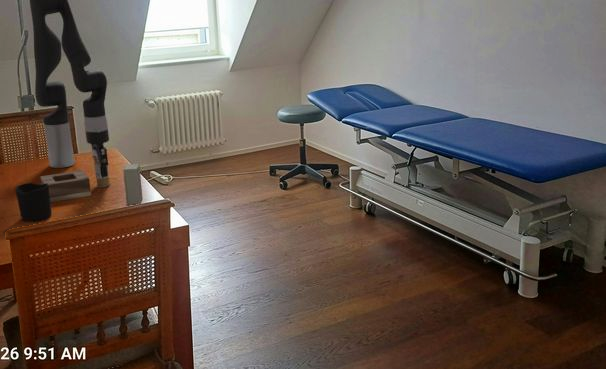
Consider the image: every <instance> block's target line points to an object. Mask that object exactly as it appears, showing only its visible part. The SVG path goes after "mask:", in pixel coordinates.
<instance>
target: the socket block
mask: <svg viewBox="0 0 606 369" xmlns="http://www.w3.org/2000/svg"><path fill="white" fill-rule="evenodd" d="M39 178H40V185H42V184H45V183H48V185H49V194H50V203H54V202H55V203H56V202H60V201H66V200H72V199H79V198H85V197H90V196H91V197H92V191H91V184H90V178H89V176H87V174H86V173H85V172H84V170H77V171H76V170H75V171H69V172H62V173H56V174H48V175H42V176H39Z"/></svg>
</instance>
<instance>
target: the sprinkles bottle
mask: <svg viewBox="0 0 606 369" xmlns="http://www.w3.org/2000/svg"><path fill="white" fill-rule="evenodd" d="M92 152H93V154H92V158H93V157H94V158H93V161H94V172H95V178H96V187H98V188H107V187H109V186H110V185H111V183H110V176H109V168H108V166H109V165H107V172H108V176H107V177H102V176H101V172H100V166H99V162H98V161H97V159H96V155H95V153H94V150H93V151H92V150H91V153H92ZM103 162H105V161H104V160H103V161H102V163H103Z"/></svg>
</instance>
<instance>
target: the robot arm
mask: <svg viewBox="0 0 606 369" xmlns="http://www.w3.org/2000/svg"><path fill="white" fill-rule="evenodd" d="M29 6H30V7H29V8H30V11H31V12H30V13H31V20H32V29H33V30H32V31H33V55H34V66H35V82H34V84H35V85H34V86H35V87H34V88H35V89H34V90H35V91H34V93H35V94H34V95H35V100H36V103H37V105H38V106H39V107H45V108H47V107H55V106H56V109H54V110H53V111H52V112H50V113H47V114H46V115H45V116H43V126H44V133H45V139H46V146H47V153H48V155H47V156H48V161H49V166H50V168H53V169H54V168H55V169H60V168H61V169H63V168H69V167H71V166H74V165H75V157H74V150H73V142H72V135H71V128H70V123H69V122H70V121H69V120H70V119H69V113H68V104H67V102H68V101H67V92H66V86H65V84H64V83H63V82H62V81H48V79H49V78H50V76H51V74H52V73H53V72H54V71H55V70H56V68H58V66H59V65H60V63H61V60H62V51H63V53H64V54H65V56H66V58H67V61H68V63H69V64H70V69H71V72H72V73H71V74H72V80H73V84H74V86H75V88H76V89H77V90H78V92H81V93H91V94H90V96H89V97H88V98H86V99H84V100H83V101H82V108H83V109H82V110H83V118H84V122H83V124H84V131H85V139H86V143H87V144H88V145H89V144H90V145H91V153H92V155H93V152H92V151H93V150H94V153H95V155H96V159H97V161H98V162H99V166H100V172H101V176H102V177H107V176H108V174H109V171H108V172H107V166H109V160H108V159H109V158H108V149H107V148H106V147H105V146H104V144H105V143H108V142H109V141H110V135H109V128H108V126H109V125H108V120H107V116H106V108H105V100H106V94H107V89H108V88H107V87H108V80H107V76H106V75H105V73H104V72H103V71H102V70H101V69H91V70H85V67H87V66H89V64H90V63H91V61H92V58H91V56H90V54H89V52H88V50H87V48H86V46H85V44H84V42H83V39H82V38H81V35H80V33H79V30H78V27H77V24H76V21H75V18H74V15H73V11H72V8H71V6H70V3H69V0H29ZM58 13H59V14H60V16H61V19H62V23H63V24H62V33H61V40H60V39H59V37H58V36H57V34H55V32H54V30H52V29H51V28H50V27H49V26H48V24H47V22H46V16H48V15H52V14H58ZM92 159H94V157H93V156H92ZM103 160H104V161H105V162H103V163H102V161H103Z"/></svg>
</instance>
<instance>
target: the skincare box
mask: <svg viewBox="0 0 606 369" xmlns="http://www.w3.org/2000/svg"><path fill="white" fill-rule="evenodd" d="M140 165H141V164H140V163H126V165H125V166H124V168H123V170H122V172H123V180H124V192H125V201H126V202H125V204H126V206H128V205H129V206H131V205H130V204H135V205H139V204H138V203H140V204H141V203H142V200H143V189H142V187H143V186H142V177H141V168H140V167H141V166H140Z"/></svg>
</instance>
